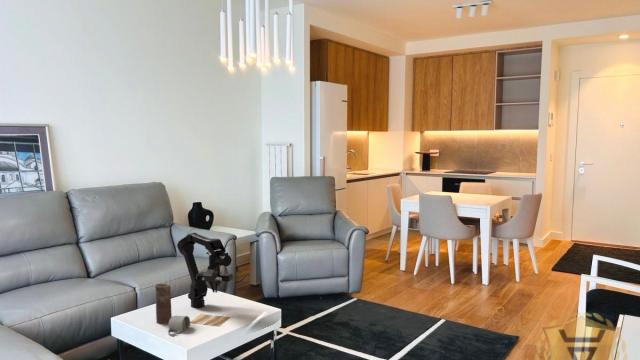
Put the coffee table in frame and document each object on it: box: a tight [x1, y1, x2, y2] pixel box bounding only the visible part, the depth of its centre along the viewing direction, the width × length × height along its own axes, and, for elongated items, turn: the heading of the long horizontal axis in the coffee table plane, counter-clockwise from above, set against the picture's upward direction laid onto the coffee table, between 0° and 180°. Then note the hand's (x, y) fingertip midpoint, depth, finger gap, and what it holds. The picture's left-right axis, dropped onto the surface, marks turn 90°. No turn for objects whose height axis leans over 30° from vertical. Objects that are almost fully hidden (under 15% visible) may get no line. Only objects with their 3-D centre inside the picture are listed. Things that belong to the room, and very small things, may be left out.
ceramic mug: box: [167, 315, 191, 338], centre depth 227 cm, size 11×8×8 cm
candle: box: [154, 283, 173, 325], centre depth 238 cm, size 8×7×20 cm
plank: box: [190, 313, 214, 325], centre depth 241 cm, size 7×12×1 cm, turn 165°
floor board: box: [202, 315, 232, 327], centre depth 239 cm, size 9×13×1 cm
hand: (215, 292), depth 250 cm, fingers closed
